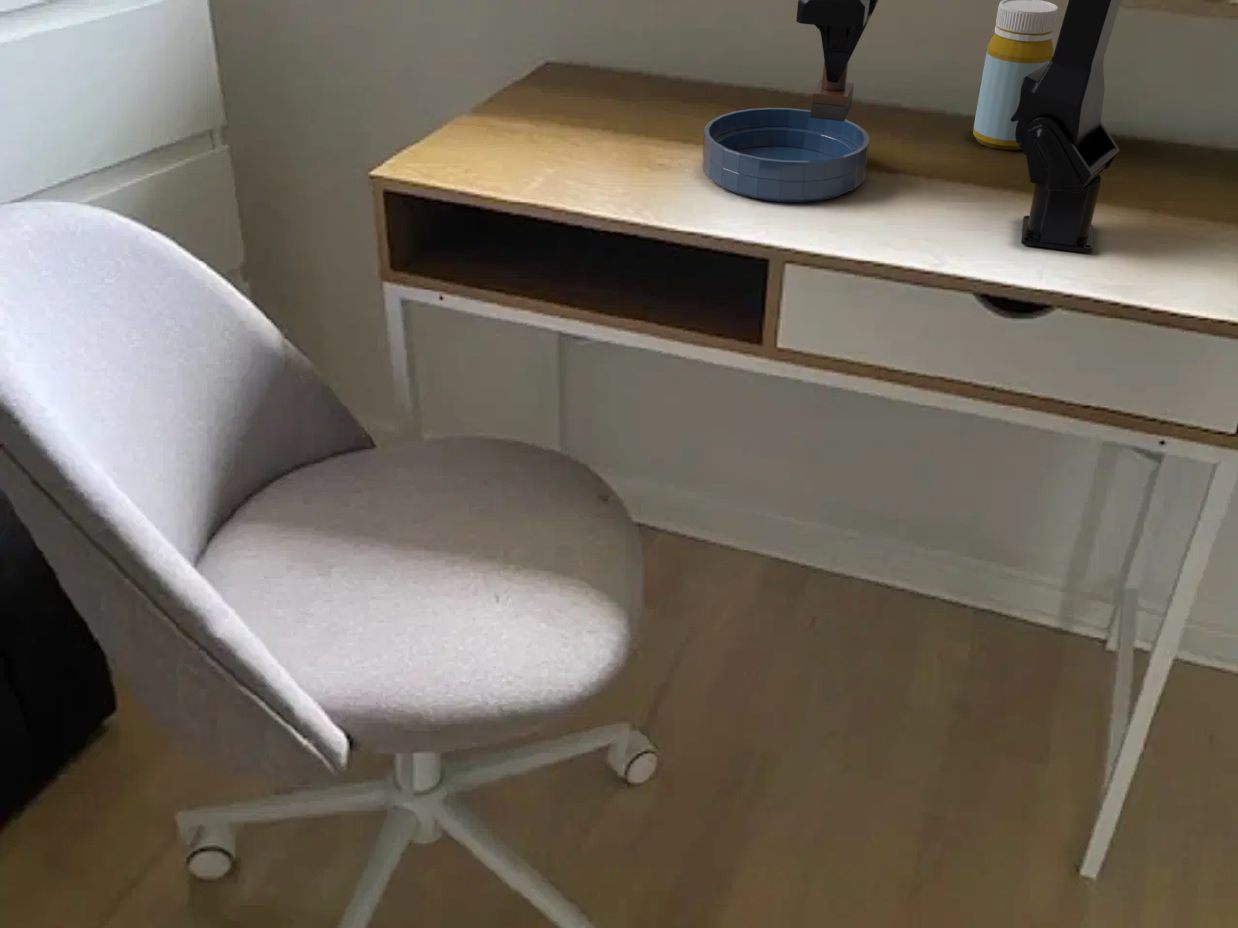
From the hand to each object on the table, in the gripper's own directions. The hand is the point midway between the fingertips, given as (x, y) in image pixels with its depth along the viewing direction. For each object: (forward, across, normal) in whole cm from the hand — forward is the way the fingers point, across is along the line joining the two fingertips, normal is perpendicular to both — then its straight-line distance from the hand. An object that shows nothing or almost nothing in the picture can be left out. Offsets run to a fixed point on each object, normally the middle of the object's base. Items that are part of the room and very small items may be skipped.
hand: (834, 78), depth 131 cm
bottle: (+11, -19, +18) cm, 28 cm away
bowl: (+11, 0, -4) cm, 12 cm away
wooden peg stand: (+4, 0, 0) cm, 4 cm away
